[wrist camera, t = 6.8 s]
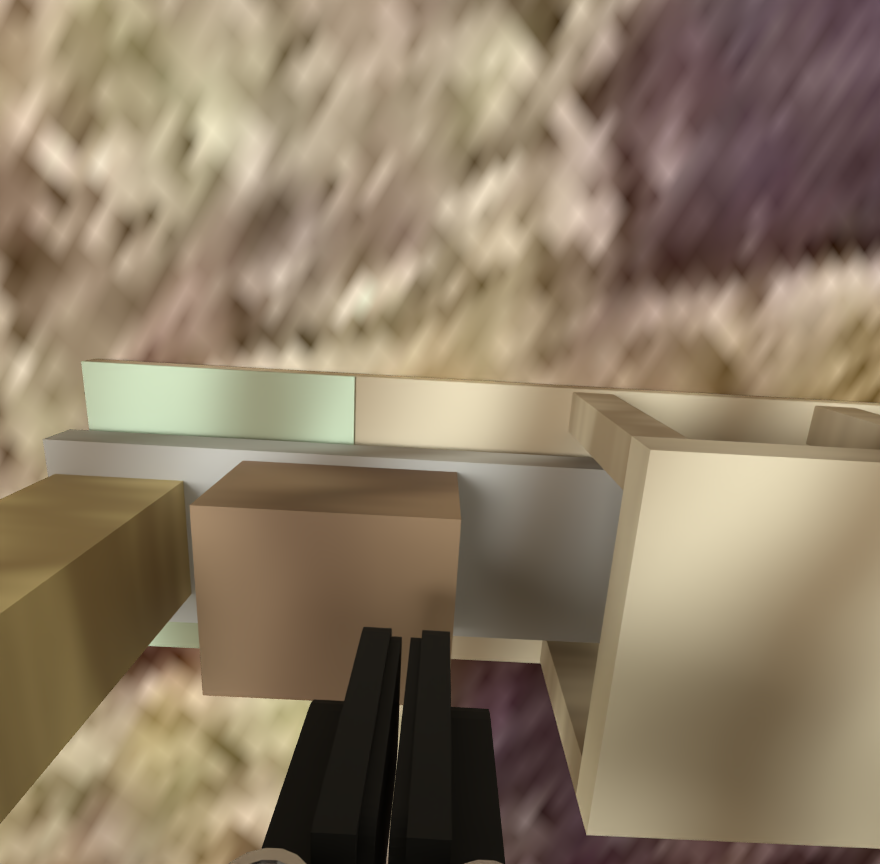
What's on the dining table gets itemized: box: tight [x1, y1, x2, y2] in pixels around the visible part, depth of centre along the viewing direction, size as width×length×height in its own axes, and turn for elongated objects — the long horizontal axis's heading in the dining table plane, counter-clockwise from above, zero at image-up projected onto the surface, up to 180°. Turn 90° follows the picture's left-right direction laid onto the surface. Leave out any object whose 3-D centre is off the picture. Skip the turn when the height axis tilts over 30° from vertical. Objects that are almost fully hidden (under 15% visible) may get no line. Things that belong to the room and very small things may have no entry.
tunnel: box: [81, 359, 880, 849], centre depth 14 cm, size 30×10×6 cm, turn 87°
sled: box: [0, 429, 623, 823], centre depth 11 cm, size 16×6×11 cm, turn 87°
